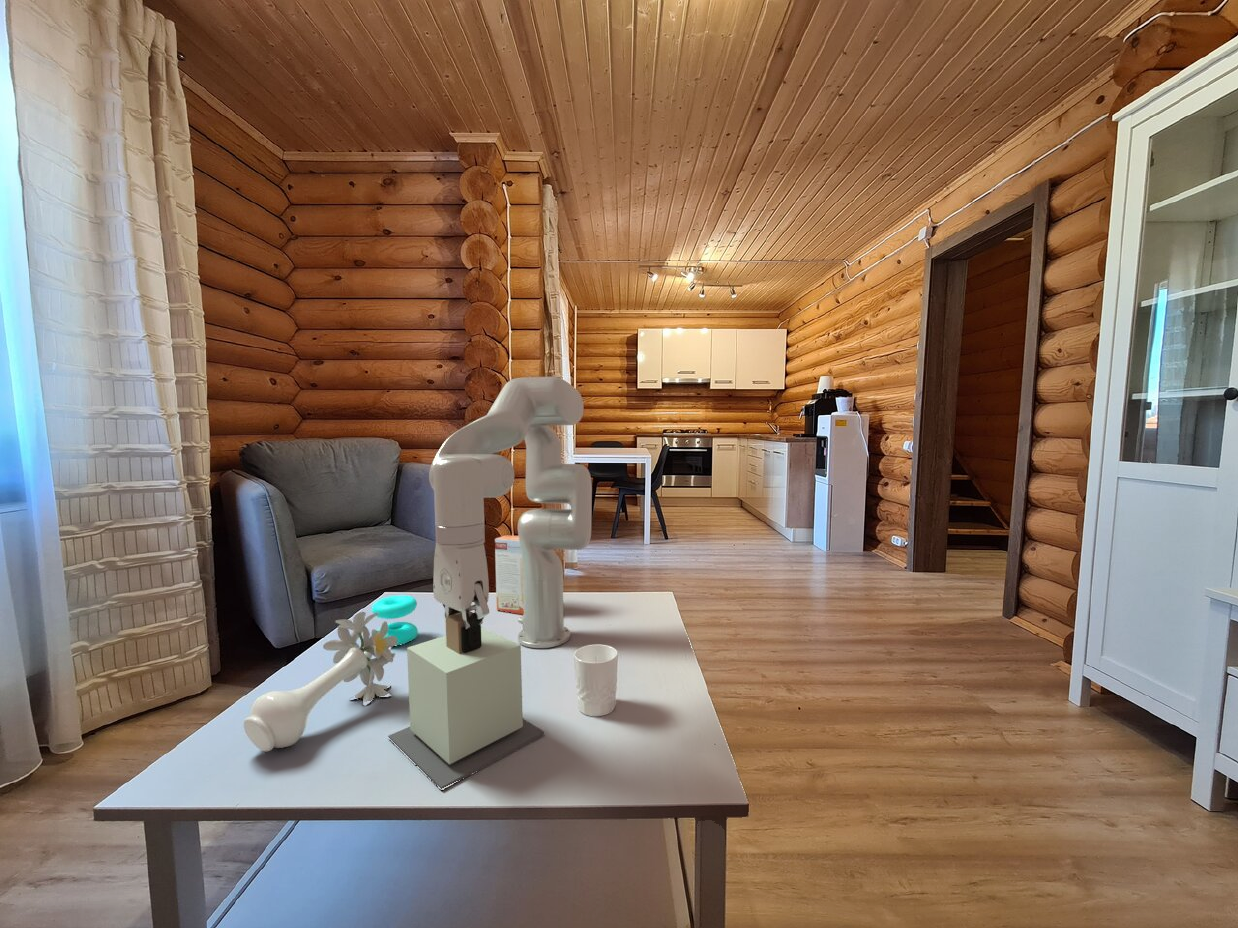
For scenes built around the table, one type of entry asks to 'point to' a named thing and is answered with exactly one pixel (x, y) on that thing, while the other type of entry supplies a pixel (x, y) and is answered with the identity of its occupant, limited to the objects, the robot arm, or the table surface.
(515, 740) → the mat
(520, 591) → the cracker box
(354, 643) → the flower vase
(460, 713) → the pale green block
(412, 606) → the donuts
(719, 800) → the table surface
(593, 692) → the white cup
